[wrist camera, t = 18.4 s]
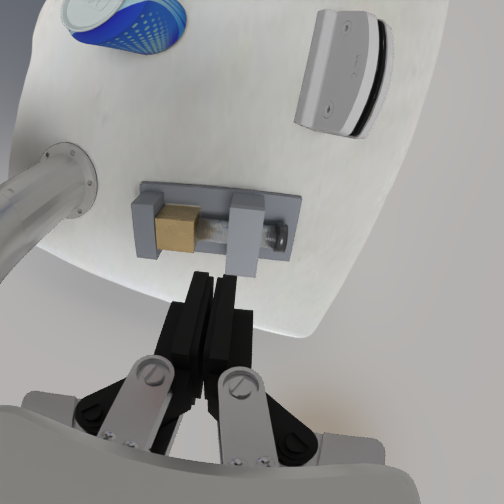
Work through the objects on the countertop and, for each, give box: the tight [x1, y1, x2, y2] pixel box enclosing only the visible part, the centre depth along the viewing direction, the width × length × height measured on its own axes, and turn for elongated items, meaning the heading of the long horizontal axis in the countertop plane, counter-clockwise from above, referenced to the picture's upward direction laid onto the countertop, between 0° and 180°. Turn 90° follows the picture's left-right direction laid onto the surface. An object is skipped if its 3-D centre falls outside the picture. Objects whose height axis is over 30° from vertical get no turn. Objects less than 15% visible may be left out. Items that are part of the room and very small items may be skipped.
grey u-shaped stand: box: [131, 182, 302, 278], centre depth 37 cm, size 22×10×6 cm, turn 84°
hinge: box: [294, 10, 394, 139], centre depth 24 cm, size 17×5×10 cm, turn 170°
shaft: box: [197, 218, 288, 253], centre depth 37 cm, size 11×4×4 cm, turn 84°
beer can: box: [61, 0, 186, 55], centre depth 18 cm, size 8×8×16 cm
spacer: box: [155, 204, 201, 253], centre depth 36 cm, size 5×4×4 cm
